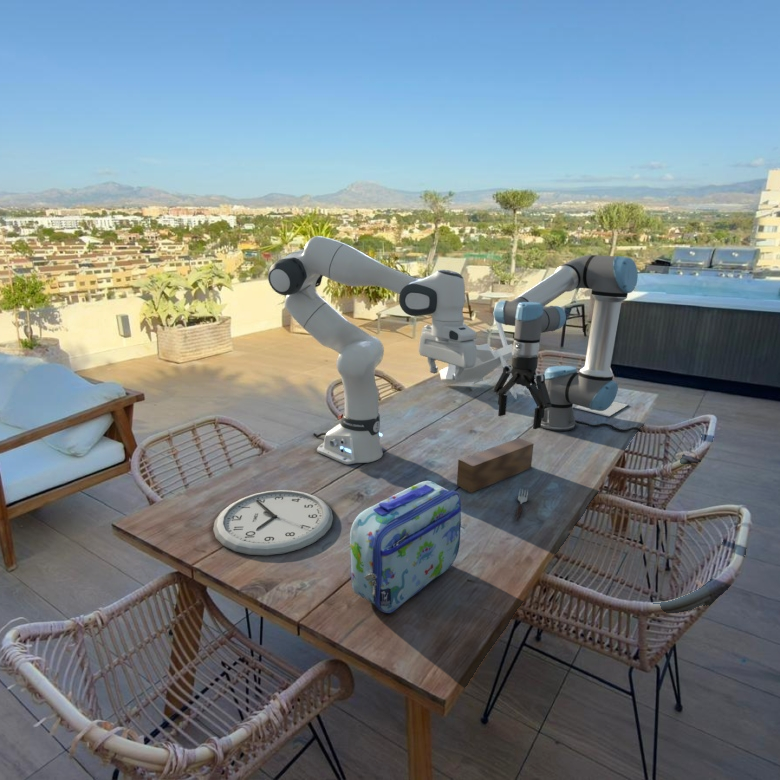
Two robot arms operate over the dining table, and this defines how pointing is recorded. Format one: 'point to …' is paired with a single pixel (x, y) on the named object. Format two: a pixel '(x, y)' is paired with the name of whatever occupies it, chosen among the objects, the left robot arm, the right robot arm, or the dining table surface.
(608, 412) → the invitation card
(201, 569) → the dining table surface
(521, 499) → the fork
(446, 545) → the lunch box
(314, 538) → the wall clock
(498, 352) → the white plastic object
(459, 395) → the dining table surface
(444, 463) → the dining table surface
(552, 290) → the right robot arm
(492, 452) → the bar
